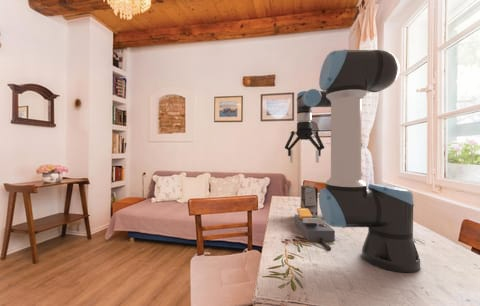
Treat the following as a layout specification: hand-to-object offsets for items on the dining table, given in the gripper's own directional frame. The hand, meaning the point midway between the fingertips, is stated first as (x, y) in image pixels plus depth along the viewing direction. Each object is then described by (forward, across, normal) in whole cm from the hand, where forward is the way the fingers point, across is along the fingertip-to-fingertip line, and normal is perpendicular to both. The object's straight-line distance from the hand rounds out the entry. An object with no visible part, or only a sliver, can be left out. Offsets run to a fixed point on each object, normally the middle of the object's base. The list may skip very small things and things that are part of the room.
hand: (304, 162), depth 121 cm
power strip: (+28, +3, +27) cm, 39 cm away
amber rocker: (+22, +5, +18) cm, 29 cm away
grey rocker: (+22, +5, +28) cm, 36 cm away
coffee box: (+28, -1, +4) cm, 29 cm away
